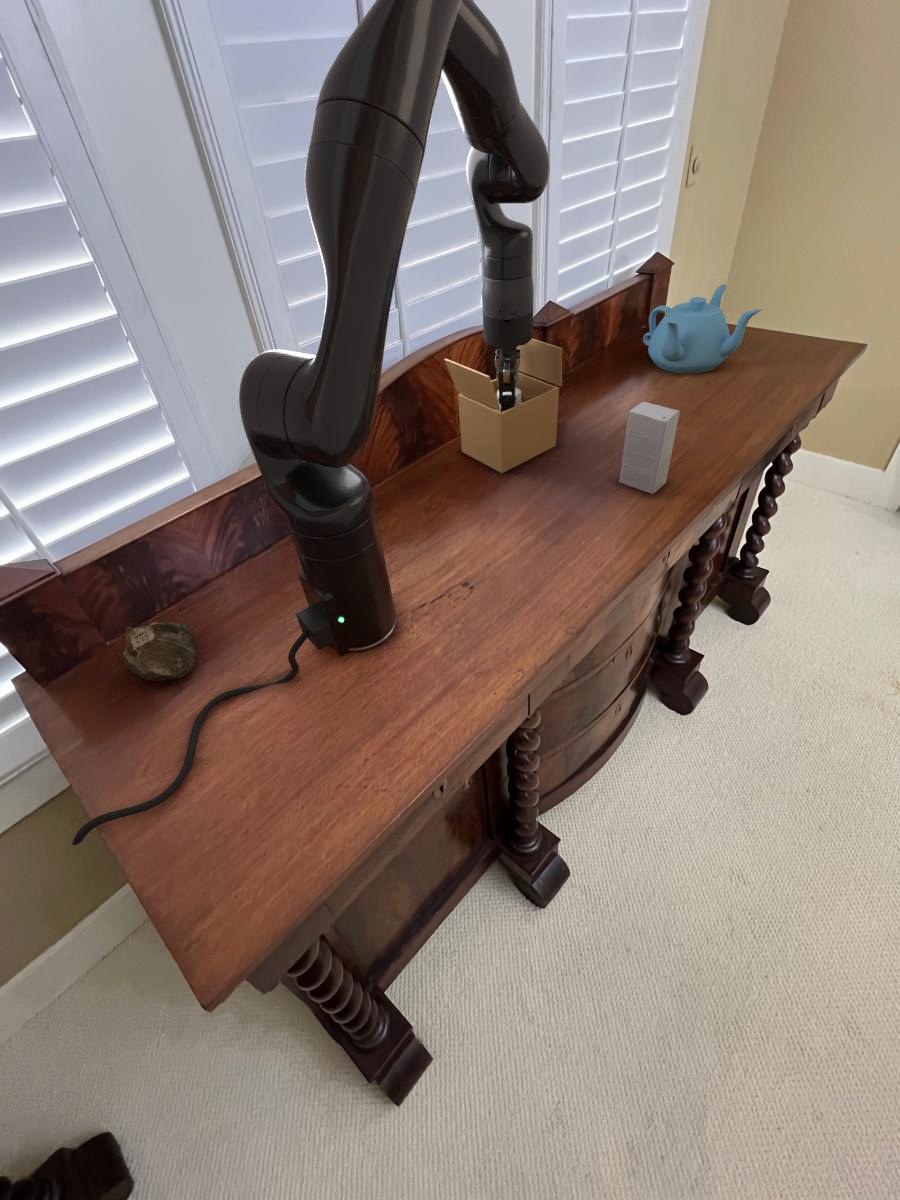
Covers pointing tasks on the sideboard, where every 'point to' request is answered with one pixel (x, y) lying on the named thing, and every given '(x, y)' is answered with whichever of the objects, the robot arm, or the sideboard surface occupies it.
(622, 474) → the cosmetic box
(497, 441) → the carton
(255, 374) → the robot arm
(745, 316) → the teapot
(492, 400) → the flap
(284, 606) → the sideboard surface
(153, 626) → the fossilized seashell
